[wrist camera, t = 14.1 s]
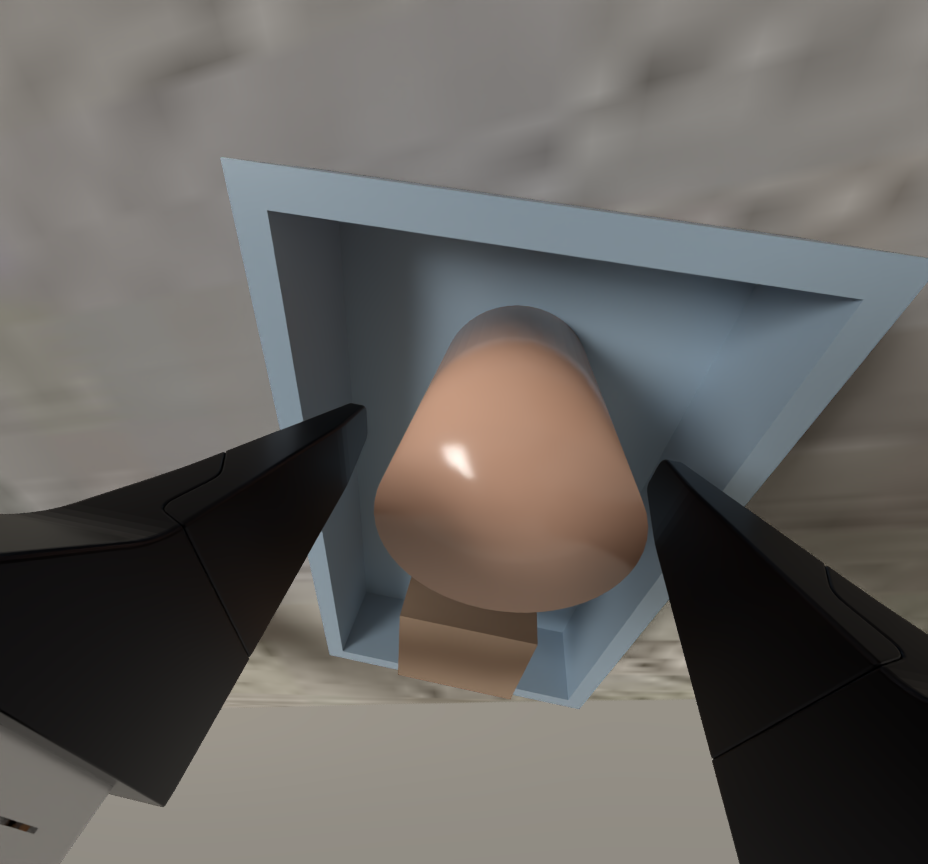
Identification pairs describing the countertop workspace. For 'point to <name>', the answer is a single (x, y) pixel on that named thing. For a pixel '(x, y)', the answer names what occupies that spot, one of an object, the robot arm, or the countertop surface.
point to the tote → (591, 318)
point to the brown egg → (513, 473)
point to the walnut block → (463, 643)
